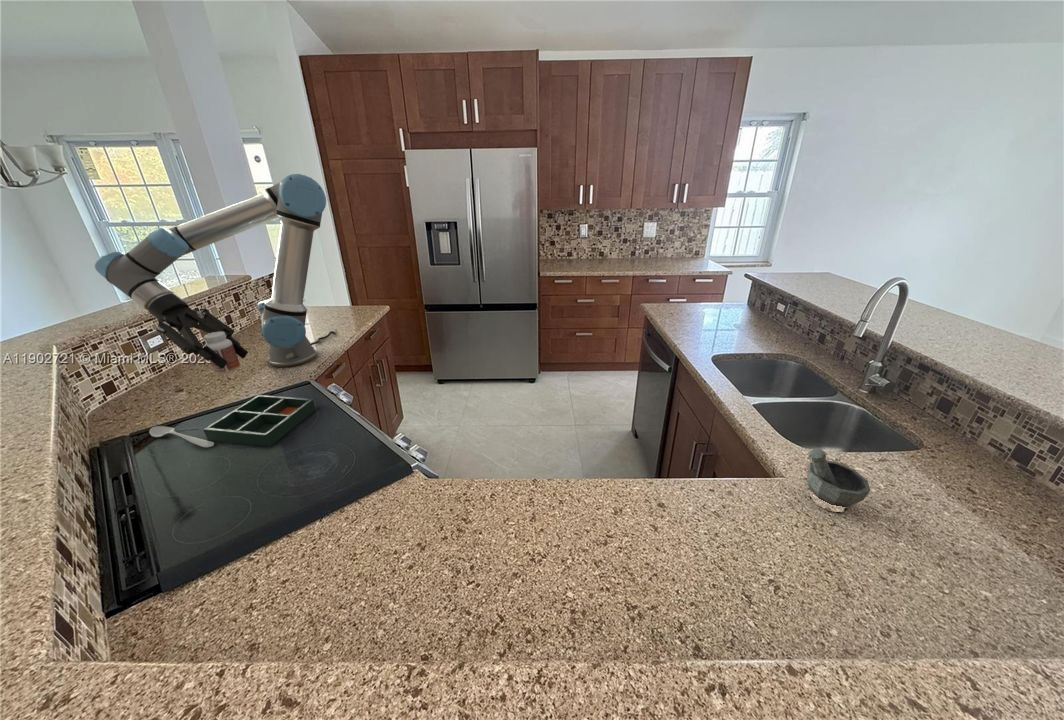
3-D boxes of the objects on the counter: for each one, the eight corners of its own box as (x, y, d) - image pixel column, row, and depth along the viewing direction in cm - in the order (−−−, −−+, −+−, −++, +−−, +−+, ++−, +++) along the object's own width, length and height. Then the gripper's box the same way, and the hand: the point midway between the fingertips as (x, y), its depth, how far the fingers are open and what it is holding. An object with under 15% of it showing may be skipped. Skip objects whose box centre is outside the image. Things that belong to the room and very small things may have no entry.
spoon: (163, 427, 99) (161, 422, 98) (221, 441, 94) (219, 435, 93) (145, 436, 95) (142, 431, 94) (204, 451, 90) (201, 445, 89)
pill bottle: (240, 363, 111) (227, 328, 106) (242, 370, 107) (228, 334, 102) (214, 369, 108) (199, 333, 103) (214, 376, 103) (199, 340, 98)
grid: (262, 404, 109) (258, 394, 108) (316, 409, 107) (313, 399, 106) (207, 440, 94) (202, 429, 92) (269, 446, 92) (265, 435, 90)
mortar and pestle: (843, 489, 79) (864, 444, 74) (867, 524, 71) (892, 476, 66) (784, 480, 82) (801, 436, 77) (801, 512, 74) (821, 465, 69)
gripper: (190, 301, 110) (257, 354, 115) (117, 322, 93) (198, 383, 98) (199, 284, 107) (267, 339, 112) (125, 303, 90) (209, 367, 95)
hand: (235, 360), depth 105 cm, fingers closed on pill bottle, 6 cm apart
